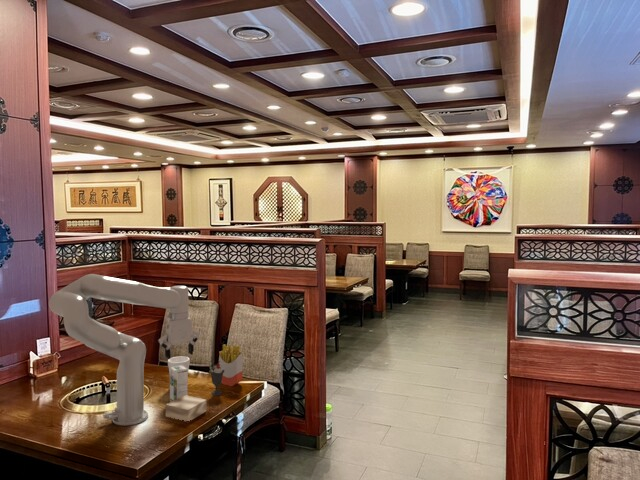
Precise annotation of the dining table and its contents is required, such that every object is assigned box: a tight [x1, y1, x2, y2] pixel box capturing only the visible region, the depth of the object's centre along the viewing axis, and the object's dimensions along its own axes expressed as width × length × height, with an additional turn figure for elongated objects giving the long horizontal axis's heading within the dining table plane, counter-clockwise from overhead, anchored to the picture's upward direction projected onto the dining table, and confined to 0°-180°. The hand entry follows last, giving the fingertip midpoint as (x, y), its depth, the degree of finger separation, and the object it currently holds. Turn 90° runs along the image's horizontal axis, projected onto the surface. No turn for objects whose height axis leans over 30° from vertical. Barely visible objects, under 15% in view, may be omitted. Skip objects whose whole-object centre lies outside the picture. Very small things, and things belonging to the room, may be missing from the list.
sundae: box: [208, 360, 225, 396], centre depth 206 cm, size 7×7×15 cm
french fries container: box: [218, 343, 244, 387], centre depth 217 cm, size 5×11×18 cm, turn 63°
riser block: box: [165, 394, 207, 422], centre depth 185 cm, size 11×11×5 cm
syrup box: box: [169, 366, 189, 402], centre depth 196 cm, size 6×6×14 cm
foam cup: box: [167, 355, 191, 374], centre depth 211 cm, size 10×9×13 cm
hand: (179, 355), depth 196 cm, fingers open, 9 cm apart
